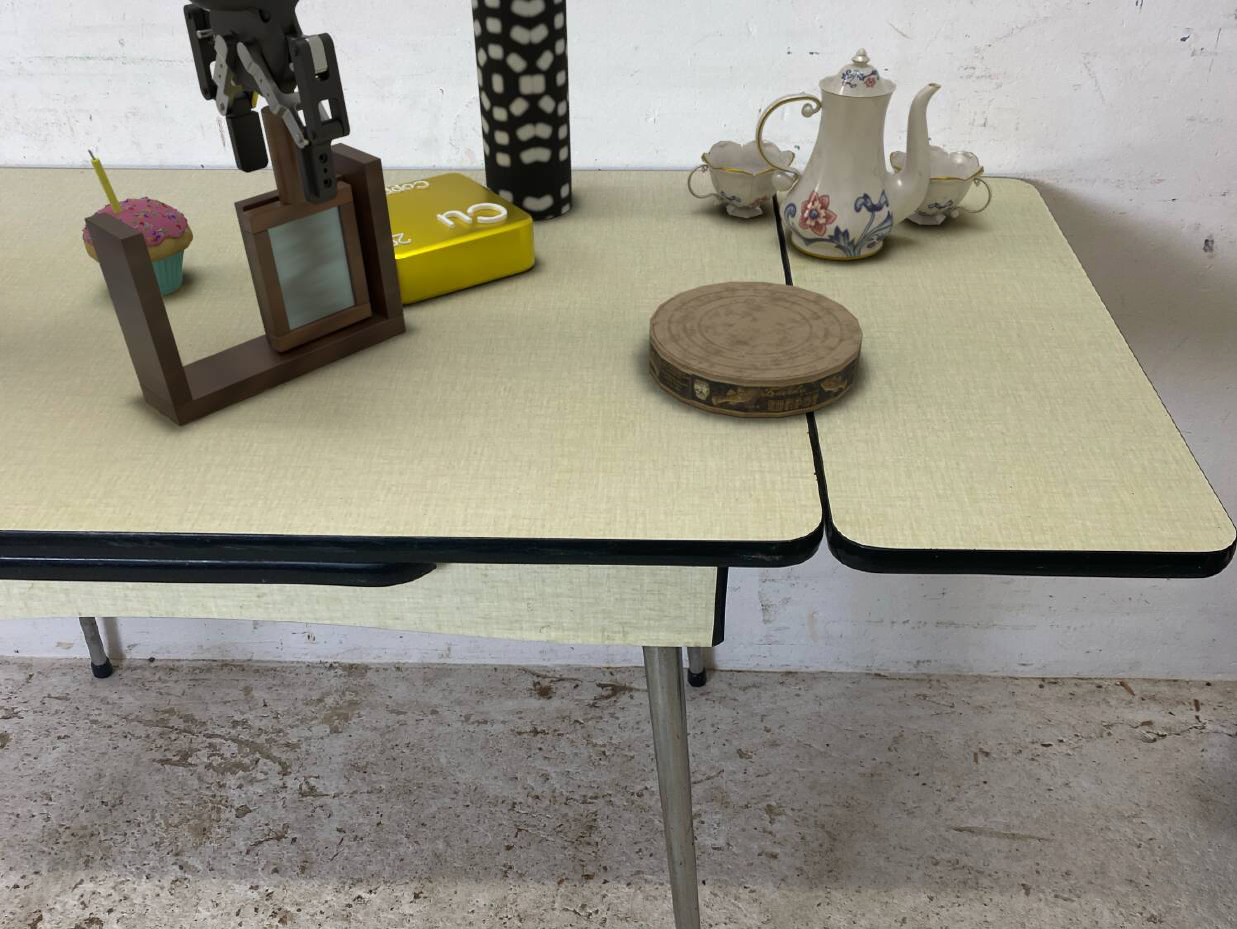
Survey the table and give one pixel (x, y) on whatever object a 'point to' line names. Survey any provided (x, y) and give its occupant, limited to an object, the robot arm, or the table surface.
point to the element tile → (455, 236)
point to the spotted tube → (525, 102)
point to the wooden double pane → (256, 360)
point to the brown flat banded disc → (754, 349)
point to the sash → (304, 252)
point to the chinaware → (846, 169)
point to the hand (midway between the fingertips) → (287, 184)
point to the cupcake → (149, 231)
